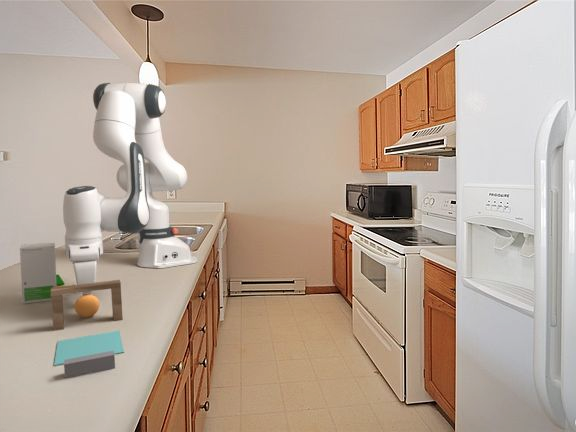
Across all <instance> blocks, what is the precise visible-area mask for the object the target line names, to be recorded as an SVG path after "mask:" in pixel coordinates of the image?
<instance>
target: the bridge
mask: <svg viewBox="0 0 576 432" xmlns="http://www.w3.org/2000/svg"><path fill="white" fill-rule="evenodd" d="M121 283H122V282H121V280H120V279H115V280H113V279H112V280H104V281H96V282H95V283H86V284H78V285H77V284H71V285H69V284H68V285H65V286H61V287H52V288H51V300H50V301H51V303H50V304H51V313H52V314H51V315H52V327H53V329H52V330H53V331H59V330H64V328H65V318H64V317H65V316H64V303H63V302H64V301H63V295H64V296H65V295H70V294H72V295H73V294H79V293H83V292H88V291H91V292H94V291H105V290H111V291H110V292H111V307H112V308H111V309H112V319H113V320H112V321H113V322H115V321H116V322H117V321H123V318H124V317H123V303H122V300H123V299H122V286H121V285H122V284H121Z"/></svg>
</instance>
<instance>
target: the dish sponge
mask: <svg viewBox="0 0 576 432" xmlns="http://www.w3.org/2000/svg"><path fill="white" fill-rule="evenodd" d="M56 284H57V287H61V286H66V285H65V281H64V280H63V279H62V277H61V276H60V274H57V273H56Z"/></svg>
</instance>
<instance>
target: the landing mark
mask: <svg viewBox="0 0 576 432" xmlns="http://www.w3.org/2000/svg"><path fill="white" fill-rule="evenodd" d="M122 340H123V339H122V336H121V333H120V330H115V331H108V332H104V333H98V334H97V333H96V334H91V335H86V336H85V335H84V336H80V337H79V336H78V337H73V338H67V339H63V340H58V341H57V342H56V343H57V344H56V350H55V356H54V363H53V366H54V367H58V366H64V360H66V359H71V358H77V357H82V356H87V355H93V354H98V353H103V352H109V351H114V356H115V355H119V354H124V353H125V349H124V346H123V342H122Z"/></svg>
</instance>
